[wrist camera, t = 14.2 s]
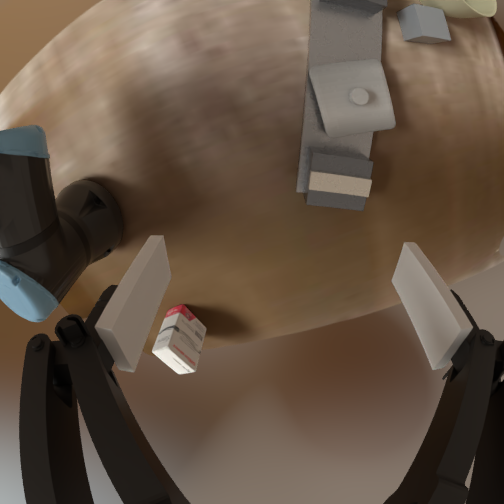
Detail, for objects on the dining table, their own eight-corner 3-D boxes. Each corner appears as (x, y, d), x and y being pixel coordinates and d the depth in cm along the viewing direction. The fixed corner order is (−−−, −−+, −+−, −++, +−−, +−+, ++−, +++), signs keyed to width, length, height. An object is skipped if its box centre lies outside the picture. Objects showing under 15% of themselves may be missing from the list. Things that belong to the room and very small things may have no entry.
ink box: (166, 309, 56) (149, 352, 46) (183, 302, 55) (167, 347, 45) (191, 334, 60) (178, 376, 50) (208, 328, 58) (197, 372, 49)
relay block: (404, 40, 26) (422, 35, 20) (396, 12, 23) (413, 3, 18) (430, 44, 25) (451, 40, 20) (423, 16, 22) (442, 9, 17)
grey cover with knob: (374, 60, 27) (386, 55, 23) (391, 126, 31) (404, 130, 27) (306, 70, 30) (308, 64, 25) (325, 137, 34) (329, 141, 30)
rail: (295, 188, 40) (299, 205, 35) (311, -32, 21) (317, -51, 15) (358, 195, 40) (371, 213, 34) (377, -17, 20) (394, -31, 15)
